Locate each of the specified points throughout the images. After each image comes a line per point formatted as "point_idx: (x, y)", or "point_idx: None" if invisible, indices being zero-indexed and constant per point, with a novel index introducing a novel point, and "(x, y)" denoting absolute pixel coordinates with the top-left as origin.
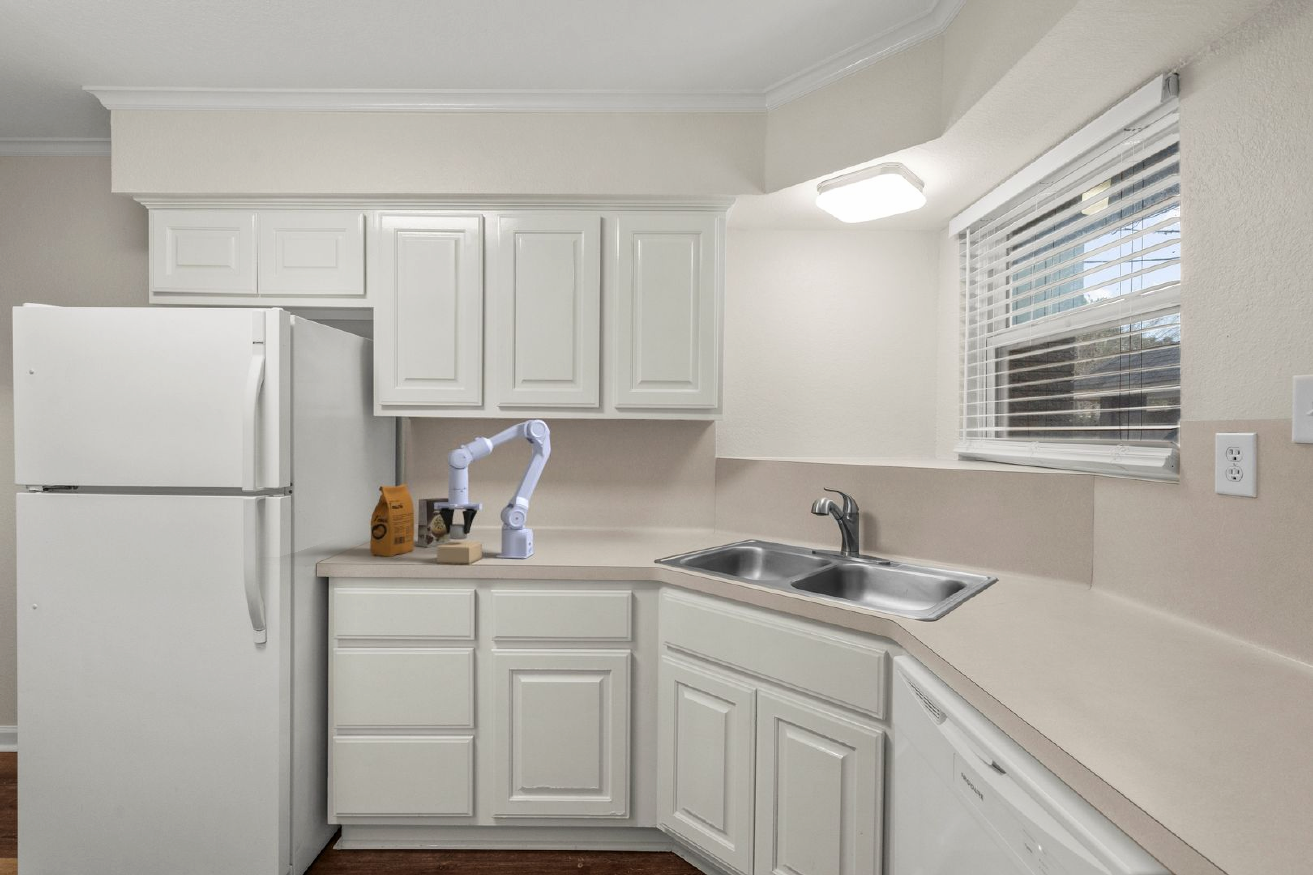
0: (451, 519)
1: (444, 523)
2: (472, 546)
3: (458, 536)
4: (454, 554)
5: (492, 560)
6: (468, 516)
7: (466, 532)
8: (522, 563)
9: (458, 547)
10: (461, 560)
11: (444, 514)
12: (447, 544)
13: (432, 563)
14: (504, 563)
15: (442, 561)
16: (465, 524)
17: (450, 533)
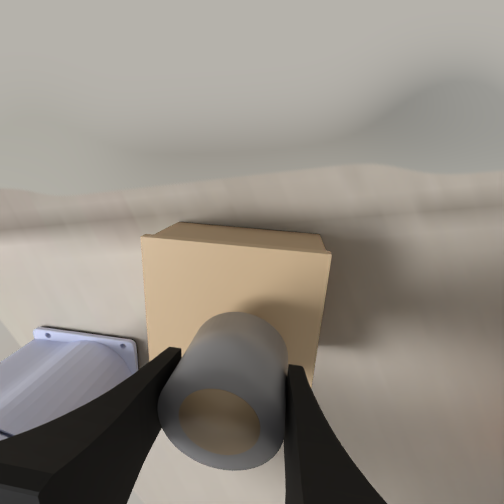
0: (288, 496)
1: (326, 420)
2: (144, 273)
3: (213, 323)
4: (232, 237)
5: (131, 302)
6: (39, 430)
7: (163, 351)
8: (10, 260)
9: (200, 241)
10: (205, 227)
11: (327, 498)
12: (292, 313)
13: (341, 235)
14: (66, 256)
15: (294, 233)
16: (134, 384)
17: (270, 347)
